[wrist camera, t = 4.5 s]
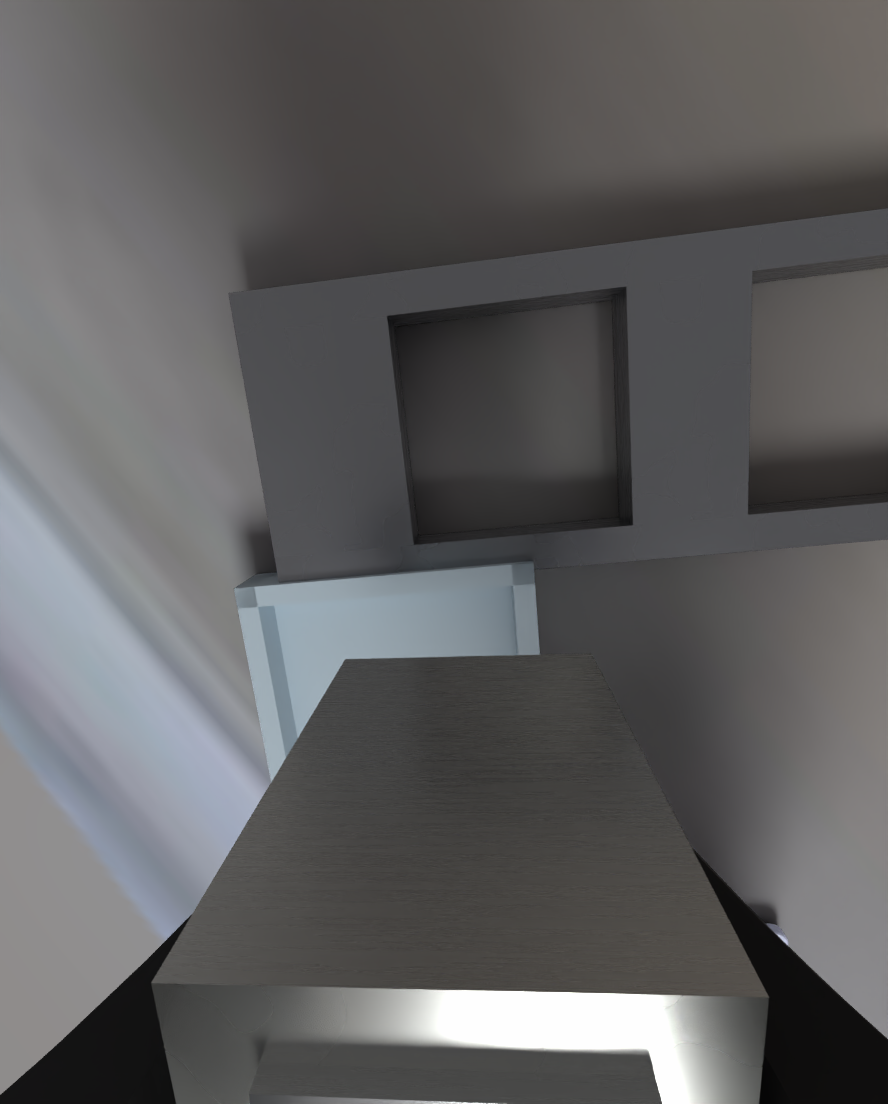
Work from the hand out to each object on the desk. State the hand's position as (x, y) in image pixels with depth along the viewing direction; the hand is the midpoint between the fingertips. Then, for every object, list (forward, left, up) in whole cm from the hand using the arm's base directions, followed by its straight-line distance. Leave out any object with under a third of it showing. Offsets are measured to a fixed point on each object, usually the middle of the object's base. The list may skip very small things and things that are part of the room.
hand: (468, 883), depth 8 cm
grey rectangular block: (0, 0, -2) cm, 2 cm away
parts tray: (-1, +2, -9) cm, 10 cm away
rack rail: (+7, -8, -9) cm, 14 cm away
